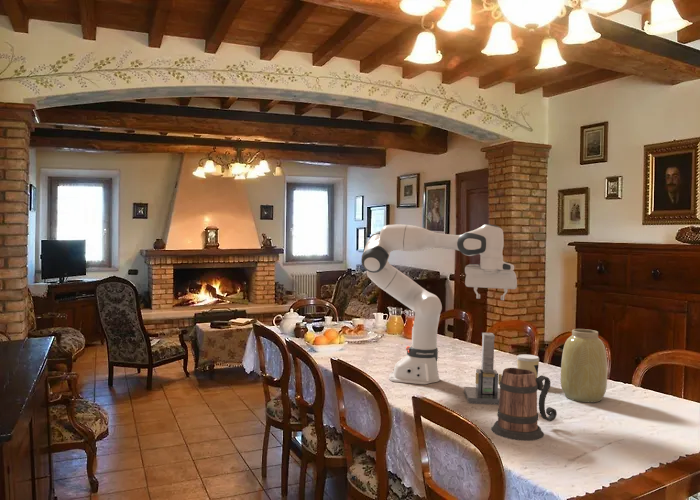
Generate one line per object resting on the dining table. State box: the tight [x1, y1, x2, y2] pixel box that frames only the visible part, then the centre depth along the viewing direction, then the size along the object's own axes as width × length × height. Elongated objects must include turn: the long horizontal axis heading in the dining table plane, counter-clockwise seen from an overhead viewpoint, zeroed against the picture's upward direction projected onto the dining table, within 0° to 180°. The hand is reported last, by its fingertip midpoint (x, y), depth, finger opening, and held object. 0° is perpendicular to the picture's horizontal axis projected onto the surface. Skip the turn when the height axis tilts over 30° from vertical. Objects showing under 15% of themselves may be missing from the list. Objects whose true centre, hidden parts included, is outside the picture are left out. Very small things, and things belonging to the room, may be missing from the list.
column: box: [481, 332, 496, 394], centre depth 223 cm, size 4×6×23 cm, turn 175°
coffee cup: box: [516, 353, 540, 379], centre depth 246 cm, size 9×9×12 cm
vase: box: [560, 328, 608, 403], centre depth 226 cm, size 17×17×27 cm
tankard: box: [490, 367, 558, 442], centre depth 187 cm, size 24×17×20 cm
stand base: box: [463, 368, 503, 406], centre depth 223 cm, size 16×16×11 cm
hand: (490, 299), depth 226 cm, fingers open, 8 cm apart
